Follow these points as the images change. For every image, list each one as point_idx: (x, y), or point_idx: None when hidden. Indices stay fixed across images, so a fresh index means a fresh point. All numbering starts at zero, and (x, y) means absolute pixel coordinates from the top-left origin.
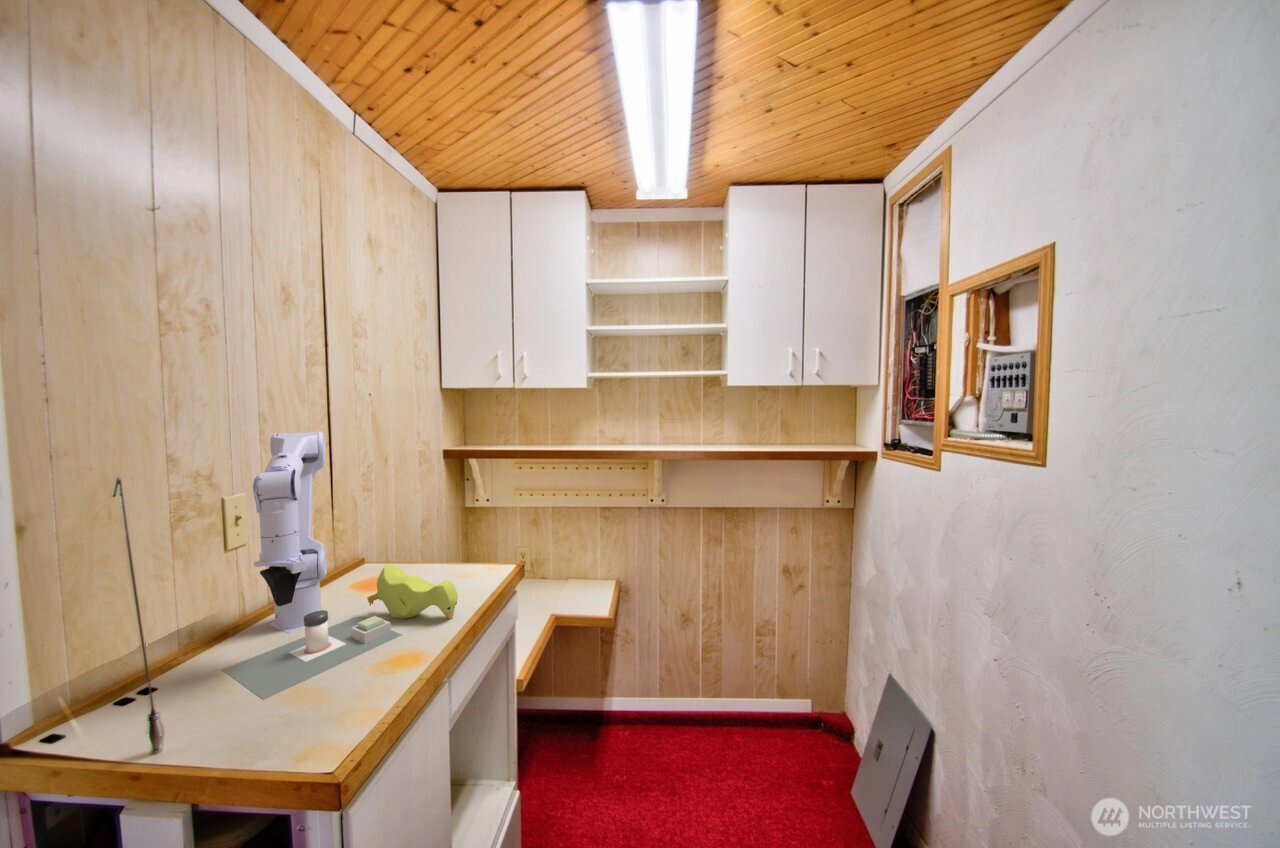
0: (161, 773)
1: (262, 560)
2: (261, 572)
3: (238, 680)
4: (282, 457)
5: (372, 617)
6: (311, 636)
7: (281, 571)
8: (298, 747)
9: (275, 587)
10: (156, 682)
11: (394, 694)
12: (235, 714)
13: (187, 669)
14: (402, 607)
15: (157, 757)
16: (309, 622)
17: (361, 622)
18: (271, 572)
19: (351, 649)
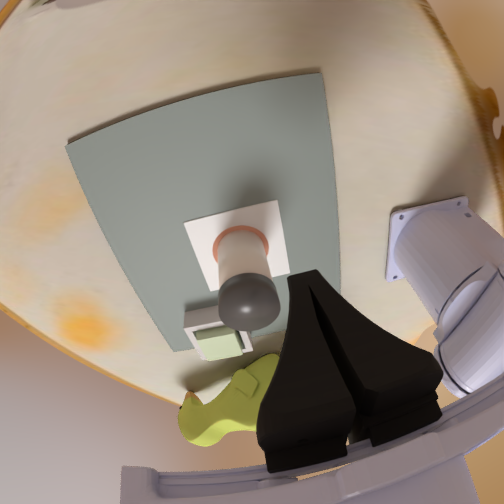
0: None
1: (397, 486)
2: (402, 383)
3: (209, 95)
4: None
5: (237, 351)
6: (223, 264)
7: (263, 450)
8: None
9: (283, 348)
10: None
11: (5, 298)
12: (59, 101)
13: (404, 35)
14: (240, 382)
15: (18, 16)
16: (225, 290)
17: (227, 337)
18: (291, 435)
19: (175, 293)
